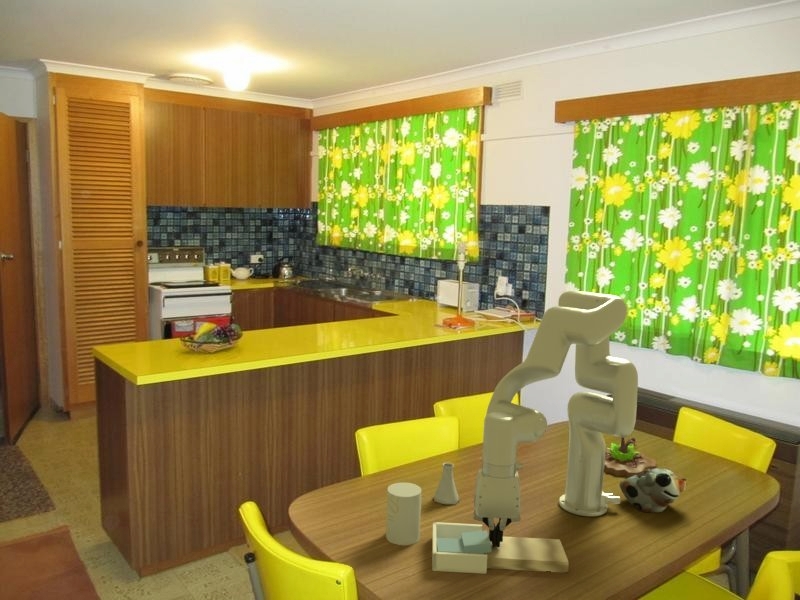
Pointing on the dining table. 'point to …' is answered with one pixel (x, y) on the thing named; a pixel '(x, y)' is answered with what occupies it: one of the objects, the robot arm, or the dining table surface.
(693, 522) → the dining table surface
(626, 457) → the plant
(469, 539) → the tile
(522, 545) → the board
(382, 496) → the dining table surface
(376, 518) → the dining table surface
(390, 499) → the grey cylinder
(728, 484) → the dining table surface
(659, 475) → the grey toy figure
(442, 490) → the flask
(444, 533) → the tray
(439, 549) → the tile
